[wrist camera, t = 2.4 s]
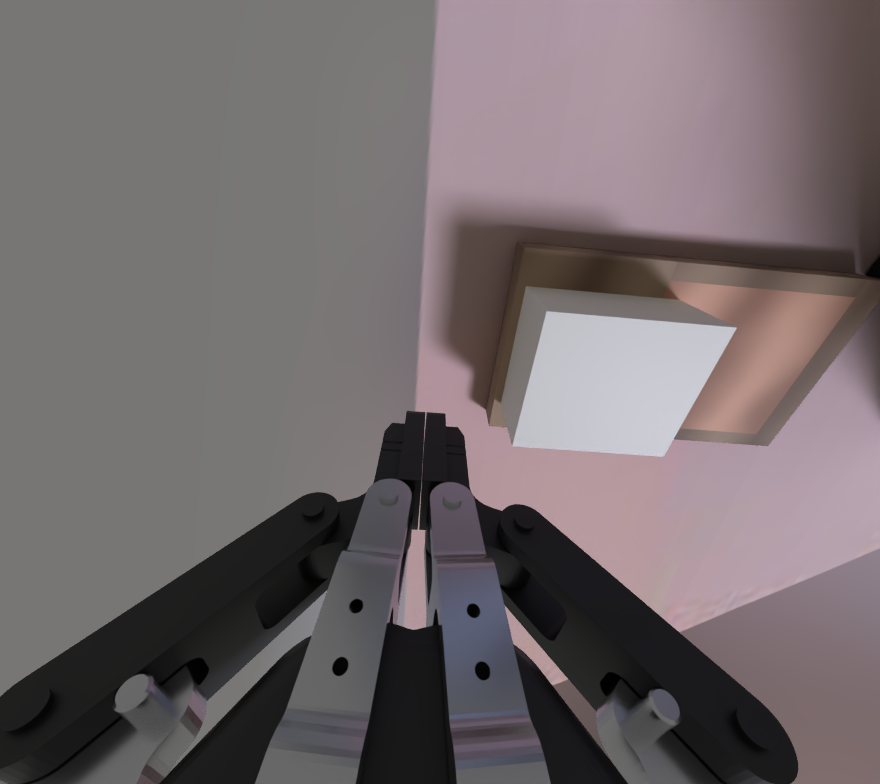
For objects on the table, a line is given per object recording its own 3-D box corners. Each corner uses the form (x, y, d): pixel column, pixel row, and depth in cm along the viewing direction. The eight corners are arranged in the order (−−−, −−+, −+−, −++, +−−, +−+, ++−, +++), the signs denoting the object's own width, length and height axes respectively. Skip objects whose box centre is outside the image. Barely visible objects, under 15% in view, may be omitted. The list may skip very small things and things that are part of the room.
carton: (679, 299, 20) (737, 327, 16) (627, 412, 24) (663, 456, 20) (525, 286, 19) (546, 311, 15) (500, 403, 23) (512, 446, 20)
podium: (856, 273, 21) (893, 282, 19) (747, 429, 27) (768, 445, 25) (517, 242, 20) (524, 247, 18) (486, 410, 26) (489, 425, 24)
